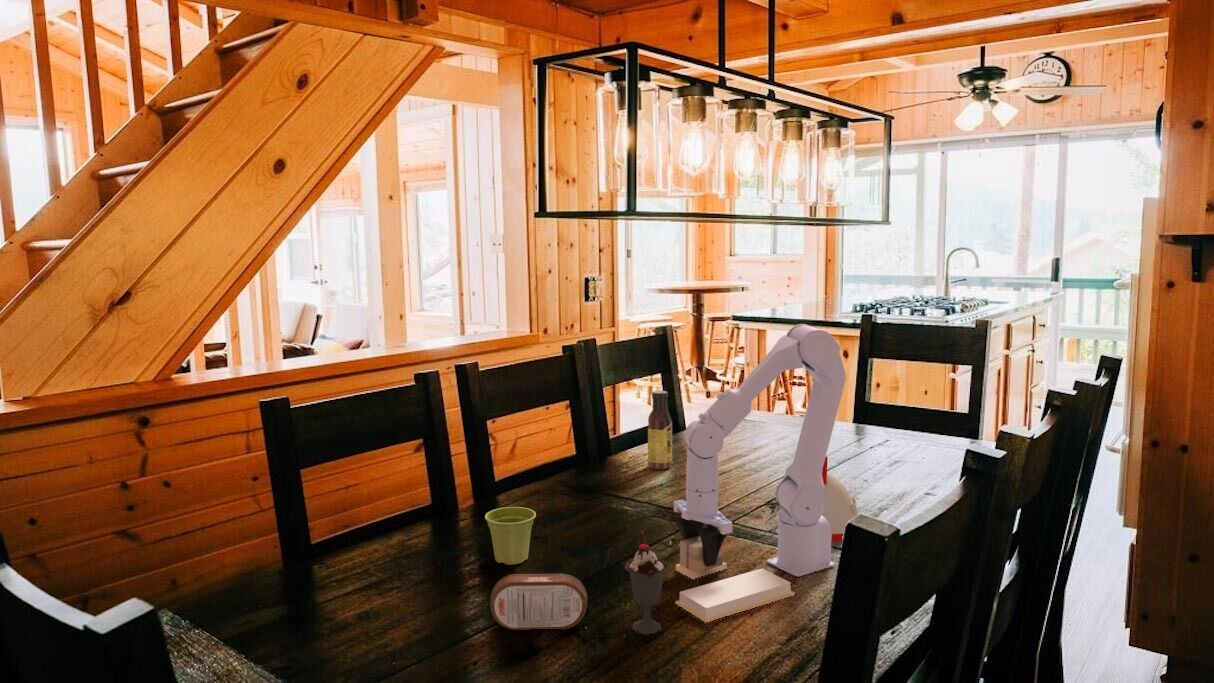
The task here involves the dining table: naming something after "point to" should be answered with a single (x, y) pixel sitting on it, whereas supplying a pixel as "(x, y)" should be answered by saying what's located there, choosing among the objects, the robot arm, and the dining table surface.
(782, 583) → the dock
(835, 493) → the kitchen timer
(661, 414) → the sauce bottle
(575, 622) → the tin
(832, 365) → the robot arm
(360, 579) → the dining table surface
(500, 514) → the plant pot
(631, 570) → the sundae
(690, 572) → the taped parcel
